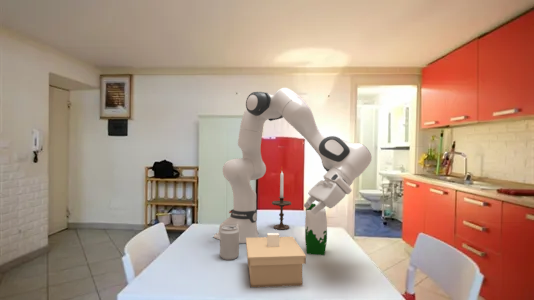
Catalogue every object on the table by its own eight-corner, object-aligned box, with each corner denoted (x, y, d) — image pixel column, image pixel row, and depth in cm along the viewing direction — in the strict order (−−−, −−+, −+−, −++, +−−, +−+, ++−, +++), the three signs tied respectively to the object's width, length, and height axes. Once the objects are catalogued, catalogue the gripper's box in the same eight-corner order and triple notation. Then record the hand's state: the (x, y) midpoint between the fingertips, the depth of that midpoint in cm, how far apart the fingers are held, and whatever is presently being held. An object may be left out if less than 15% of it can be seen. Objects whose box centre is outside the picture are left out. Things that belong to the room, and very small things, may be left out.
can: (241, 255, 109) (242, 225, 109) (233, 261, 102) (234, 230, 102) (225, 252, 112) (225, 223, 112) (216, 259, 104) (216, 228, 105)
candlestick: (285, 231, 144) (286, 166, 144) (268, 228, 149) (268, 165, 150) (294, 227, 153) (294, 165, 154) (277, 224, 159) (278, 165, 159)
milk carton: (305, 247, 119) (306, 202, 119) (326, 249, 117) (326, 203, 117) (304, 254, 110) (304, 205, 111) (327, 256, 108) (327, 206, 109)
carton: (250, 287, 82) (251, 259, 82) (248, 264, 100) (248, 240, 100) (302, 285, 84) (302, 257, 84) (290, 262, 102) (290, 239, 102)
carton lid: (248, 265, 81) (248, 244, 81) (245, 244, 101) (246, 226, 101) (305, 263, 83) (305, 242, 83) (292, 243, 103) (292, 226, 103)
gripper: (320, 173, 105) (295, 198, 104) (340, 177, 85) (310, 209, 84) (331, 184, 106) (307, 210, 104) (354, 191, 85) (324, 223, 84)
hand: (308, 209), depth 94 cm, fingers open, 8 cm apart
